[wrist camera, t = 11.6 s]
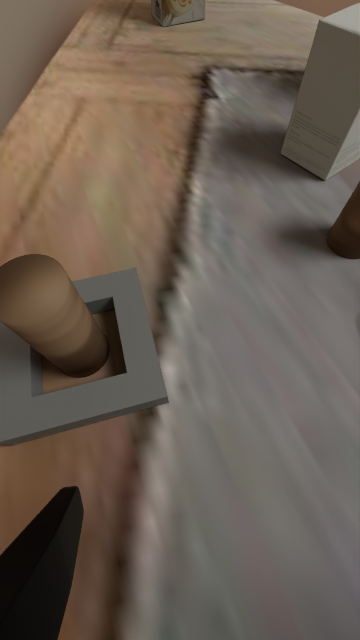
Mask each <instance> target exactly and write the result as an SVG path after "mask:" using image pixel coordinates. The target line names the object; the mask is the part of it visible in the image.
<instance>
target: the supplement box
mask: <svg viewBox="0 0 360 640" xmlns="http://www.w3.org/2000/svg"><path fill="white" fill-rule="evenodd" d="M281 154H282V155H284V156H285V157H287V158H289V159H290V160H292V161H294V162H295V163H297V164H299V165H300V166H302V167H304V168H305V169H307V170H308V171H310V172H312V173H313V174H315V175H316V176H318V177H320V178H321V179H323V180H327V179H328V178H330V177H331V176H333V175H334V174H336V173H338V172H339V171H340V170H342V169H344V168H345V167H347V166H348V165H350V164H351V163H353V162H354V161H356V160H357V159H358V158H360V3H357V4H355V5H353V6H350V7H348V8H345V9H343V10H341V11H339V12H336V13H334V14H332V15H330V16H327V17H325V18H322V19H320V20H319V22H318V26H317V30H316V34H315V37H314V41H313V44H312V48H311V51H310V55H309V58H308V61H307V65H306V68H305V72H304V75H303V78H302V82H301V85H300V88H299V92H298V95H297V98H296V102H295V105H294V109H293V112H292V115H291V119H290V122H289V126H288V129H287V133H286V136H285V140H284V143H283V147H282V150H281Z"/></svg>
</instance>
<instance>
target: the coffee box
mask: <svg viewBox="0 0 360 640" xmlns="http://www.w3.org/2000/svg"><path fill="white" fill-rule="evenodd" d="M151 10H152V16H153V17H154V18H155V19H156V20H157V21H158V22H159V23H160V24H161V25H162V27H166V26H170V25H175V24H180V23H186V22H191V21H196V20H201V19H204V18H205V0H151Z"/></svg>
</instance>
